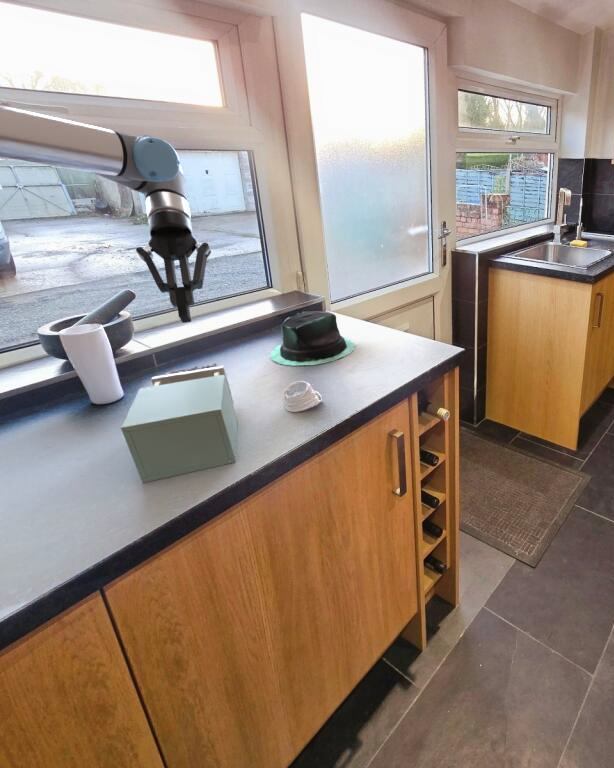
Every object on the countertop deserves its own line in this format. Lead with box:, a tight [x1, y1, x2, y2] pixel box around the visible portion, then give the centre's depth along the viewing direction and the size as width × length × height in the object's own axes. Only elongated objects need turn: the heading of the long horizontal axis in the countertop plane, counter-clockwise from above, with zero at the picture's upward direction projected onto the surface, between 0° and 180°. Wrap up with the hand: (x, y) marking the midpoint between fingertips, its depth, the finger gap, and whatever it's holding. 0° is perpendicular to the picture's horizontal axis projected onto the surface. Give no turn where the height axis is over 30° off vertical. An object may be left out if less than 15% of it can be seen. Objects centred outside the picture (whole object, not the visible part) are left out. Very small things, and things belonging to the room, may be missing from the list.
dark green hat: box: [269, 310, 356, 367], centre depth 124 cm, size 15×19×20 cm
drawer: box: [151, 365, 235, 406], centre depth 89 cm, size 18×11×8 cm, turn 26°
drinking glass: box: [58, 323, 125, 405], centre depth 97 cm, size 7×7×15 cm
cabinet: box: [120, 375, 239, 484], centre depth 81 cm, size 15×13×10 cm
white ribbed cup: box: [281, 380, 324, 413], centre depth 96 cm, size 8×7×5 cm
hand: (185, 318), depth 97 cm, fingers closed
